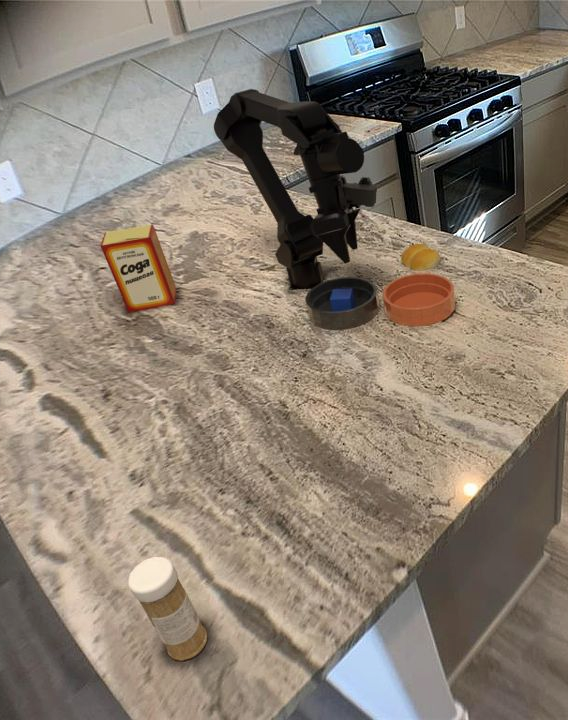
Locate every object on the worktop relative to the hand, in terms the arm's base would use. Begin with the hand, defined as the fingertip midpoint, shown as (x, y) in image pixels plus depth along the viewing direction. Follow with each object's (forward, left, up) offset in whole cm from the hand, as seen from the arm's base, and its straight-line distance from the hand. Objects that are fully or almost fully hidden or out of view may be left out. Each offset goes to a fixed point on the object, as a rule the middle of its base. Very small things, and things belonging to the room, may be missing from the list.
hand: (351, 255), depth 128 cm
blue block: (-3, -1, -12) cm, 12 cm away
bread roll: (+11, +19, -13) cm, 26 cm away
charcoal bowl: (-3, -1, -13) cm, 13 cm away
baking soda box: (-47, +8, -13) cm, 49 cm away
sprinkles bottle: (-11, -73, -13) cm, 74 cm away
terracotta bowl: (+12, -1, -13) cm, 18 cm away
